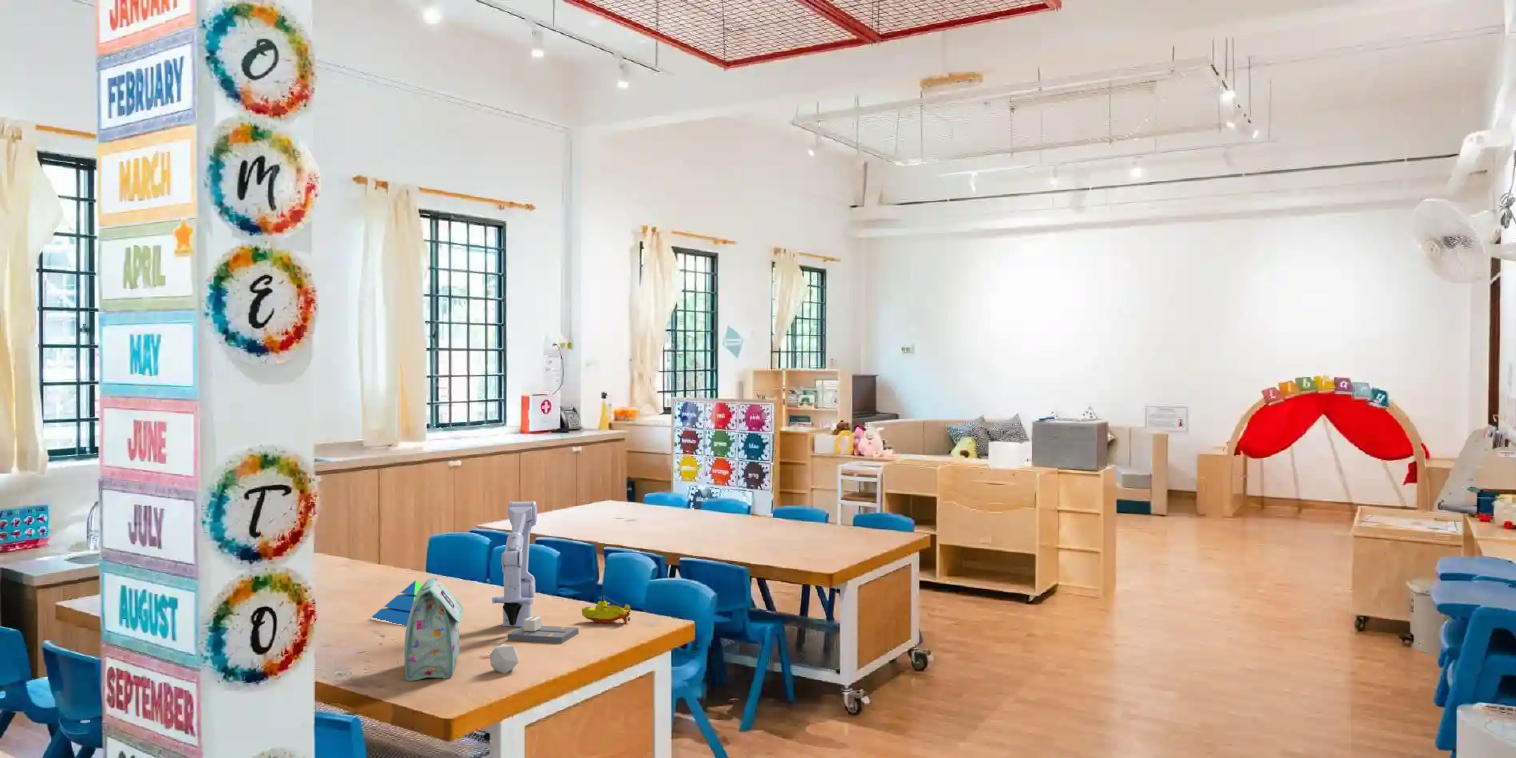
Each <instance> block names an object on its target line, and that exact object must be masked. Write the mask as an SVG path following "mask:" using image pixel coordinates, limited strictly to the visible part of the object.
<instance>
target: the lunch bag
mask: <svg viewBox="0 0 1516 758" xmlns="http://www.w3.org/2000/svg"><path fill="white" fill-rule="evenodd" d="M462 613H464V607H463V605H462V603H461V602H460V601H459V600H458V599H457V598H456V597H455V596H454V594H453V593H452V592H451V591H450V590H449V589H448V588H447V587H446V586H445V585H444V583H443V582H442V581H441V580H440V579H439V578H438V577H431V578H428V579H426V581H425V582H424V583H423V584H422V586H421V588H420V589H419V591H418V592H417V595H416V597H415V600H414V603H413V606H412V609H411V612H410V615H409V619H408V623H407V627H406V626H405V628H406V629H405V633H404V668H405V679H406V681H408V682H412V681H419V680H422V679H426V678H435V679H442V678H443V679H449V678H452V677H453V675H454V672H455V669H456V668H455V667H456V664H457V661H458V658H459V655H460V630H459V629H460V628H459V623H460V622H461V618H462V616H463V614H462Z"/></svg>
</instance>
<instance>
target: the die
mask: <svg viewBox="0 0 1516 758" xmlns="http://www.w3.org/2000/svg"><path fill="white" fill-rule="evenodd" d="M489 659H490V660H489V662H490V667H492V668H493V670H494V671H496V672H498V673H500V674H504V675H505V674H507V673H509V672H510V671H513V669H514V668H515V667H516V666H517V665H518V664H519V661H520V660H519V653H518V651H517V649H516V648H515V647H514V645H510V644H507V643H504V642H503V643H502V644H500V645H497V647H494V649H493V651H491V653H490V654H489Z"/></svg>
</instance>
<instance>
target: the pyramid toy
mask: <svg viewBox="0 0 1516 758" xmlns="http://www.w3.org/2000/svg"><path fill="white" fill-rule="evenodd" d="M422 585H423V584H422V583H420V582H419V581H417V580H414V581H413V582H412V583H410V584H409V585H408V586H407V587H406V588H405V589H403V590H401V592H400V594H397V595H396V596H394V598H392V599H391V600H390V601H389V602H388V603H386V604H385V605H384V606H383V608H380V609H379V610H377V612H376V613H373V615H371V617H373V618H377V619H380V620H386V621H389V622H392V623H396V624H402V625H404V626H403V627H406V626H407V623H408V619H409V615H410V612H411V609H412V606H413V603H414V600H415V597H416V595H417V592H418V591H419V589H420V588H421V586H422Z"/></svg>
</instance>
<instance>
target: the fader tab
mask: <svg viewBox="0 0 1516 758" xmlns="http://www.w3.org/2000/svg"><path fill="white" fill-rule="evenodd" d="M541 626H542V616H531V617H529V618H527V619H525V620H524V631H536V630H538V629H540V628H541Z"/></svg>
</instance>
